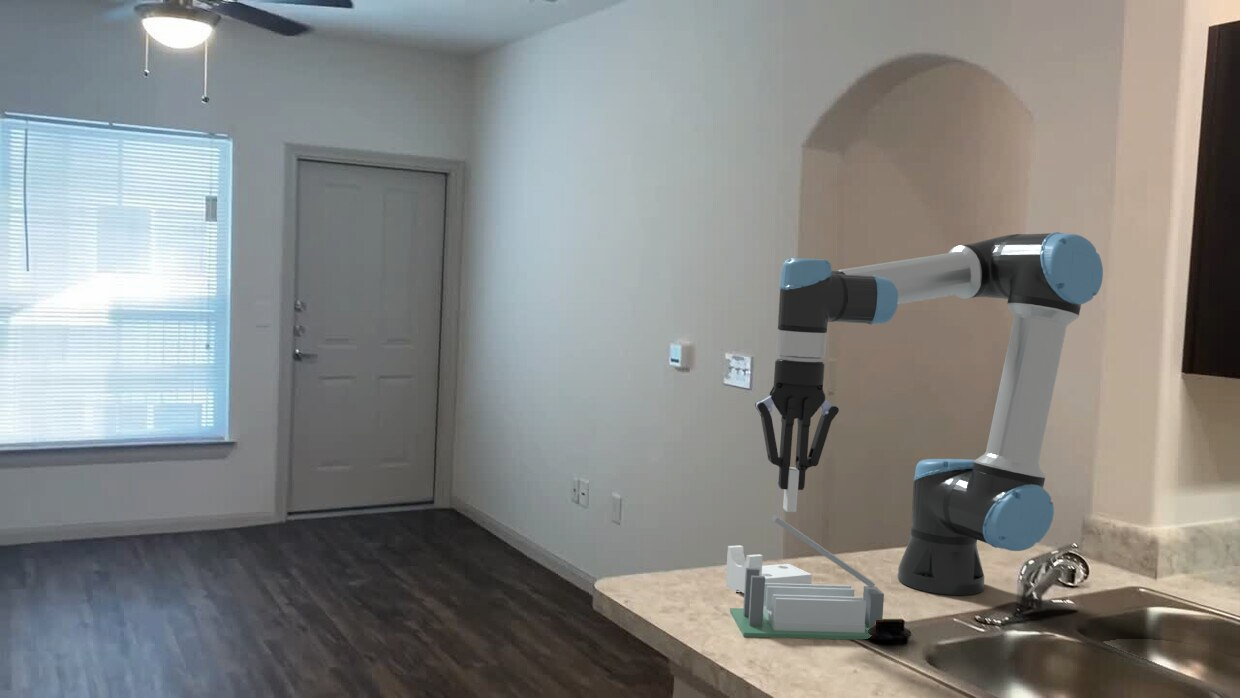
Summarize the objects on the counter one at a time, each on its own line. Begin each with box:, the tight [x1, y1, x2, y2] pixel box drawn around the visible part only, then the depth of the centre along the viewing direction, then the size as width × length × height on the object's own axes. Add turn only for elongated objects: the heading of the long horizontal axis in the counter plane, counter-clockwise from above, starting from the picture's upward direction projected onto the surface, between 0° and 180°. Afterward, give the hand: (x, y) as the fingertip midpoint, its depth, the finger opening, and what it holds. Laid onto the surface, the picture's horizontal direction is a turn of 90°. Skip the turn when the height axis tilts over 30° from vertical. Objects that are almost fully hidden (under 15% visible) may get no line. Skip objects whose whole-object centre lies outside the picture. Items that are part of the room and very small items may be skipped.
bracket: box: [725, 544, 813, 594], centre depth 186 cm, size 13×7×8 cm, turn 115°
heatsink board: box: [729, 568, 885, 640], centre depth 168 cm, size 23×12×8 cm, turn 94°
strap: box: [771, 514, 876, 588], centre depth 167 cm, size 19×2×1 cm
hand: (789, 510), depth 166 cm, fingers closed
